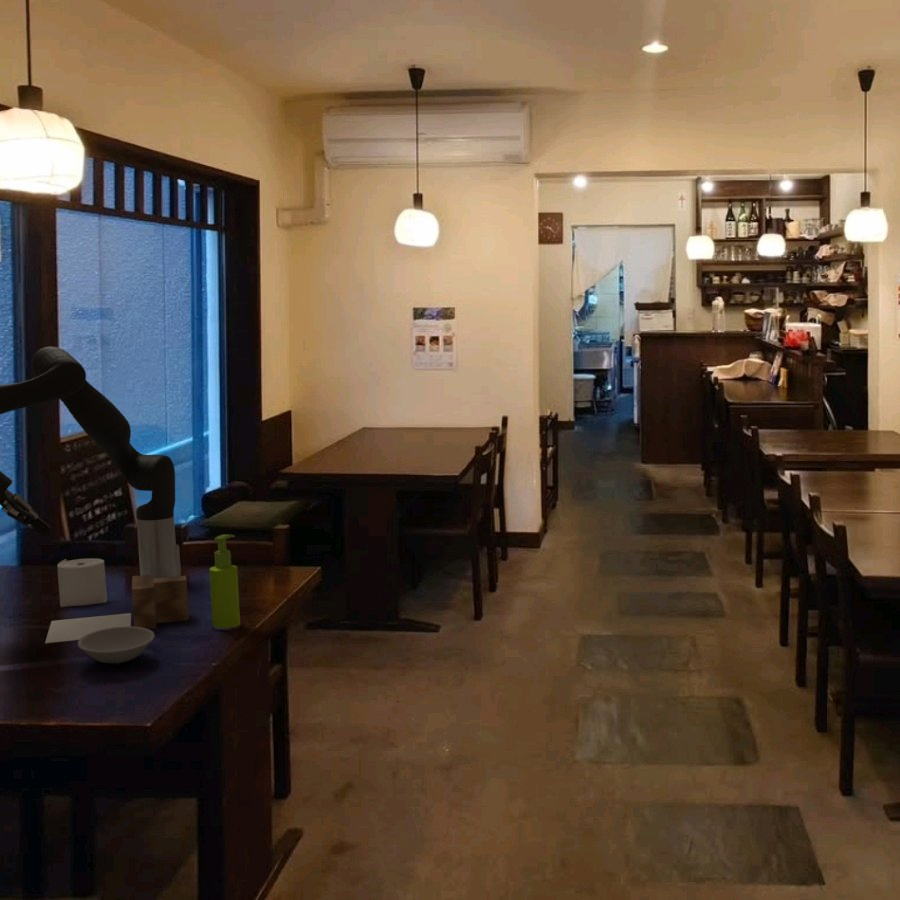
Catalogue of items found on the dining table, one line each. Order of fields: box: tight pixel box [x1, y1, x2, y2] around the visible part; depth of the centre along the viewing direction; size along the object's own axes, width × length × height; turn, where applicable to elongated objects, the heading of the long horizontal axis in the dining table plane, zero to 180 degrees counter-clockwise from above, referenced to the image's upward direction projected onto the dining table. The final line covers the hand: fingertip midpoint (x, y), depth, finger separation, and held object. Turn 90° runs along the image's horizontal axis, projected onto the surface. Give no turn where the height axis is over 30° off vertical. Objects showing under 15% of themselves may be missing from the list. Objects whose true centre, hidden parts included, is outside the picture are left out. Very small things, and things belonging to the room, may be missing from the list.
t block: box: [131, 574, 190, 630], centre depth 238 cm, size 12×13×9 cm
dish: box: [77, 625, 156, 664], centre depth 211 cm, size 18×14×5 cm
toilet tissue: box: [57, 558, 108, 608], centre depth 259 cm, size 11×12×10 cm
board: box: [44, 612, 132, 644], centre depth 236 cm, size 30×18×1 cm, turn 106°
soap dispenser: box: [209, 534, 241, 628], centre depth 235 cm, size 6×7×20 cm
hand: (48, 532), depth 233 cm, fingers closed
